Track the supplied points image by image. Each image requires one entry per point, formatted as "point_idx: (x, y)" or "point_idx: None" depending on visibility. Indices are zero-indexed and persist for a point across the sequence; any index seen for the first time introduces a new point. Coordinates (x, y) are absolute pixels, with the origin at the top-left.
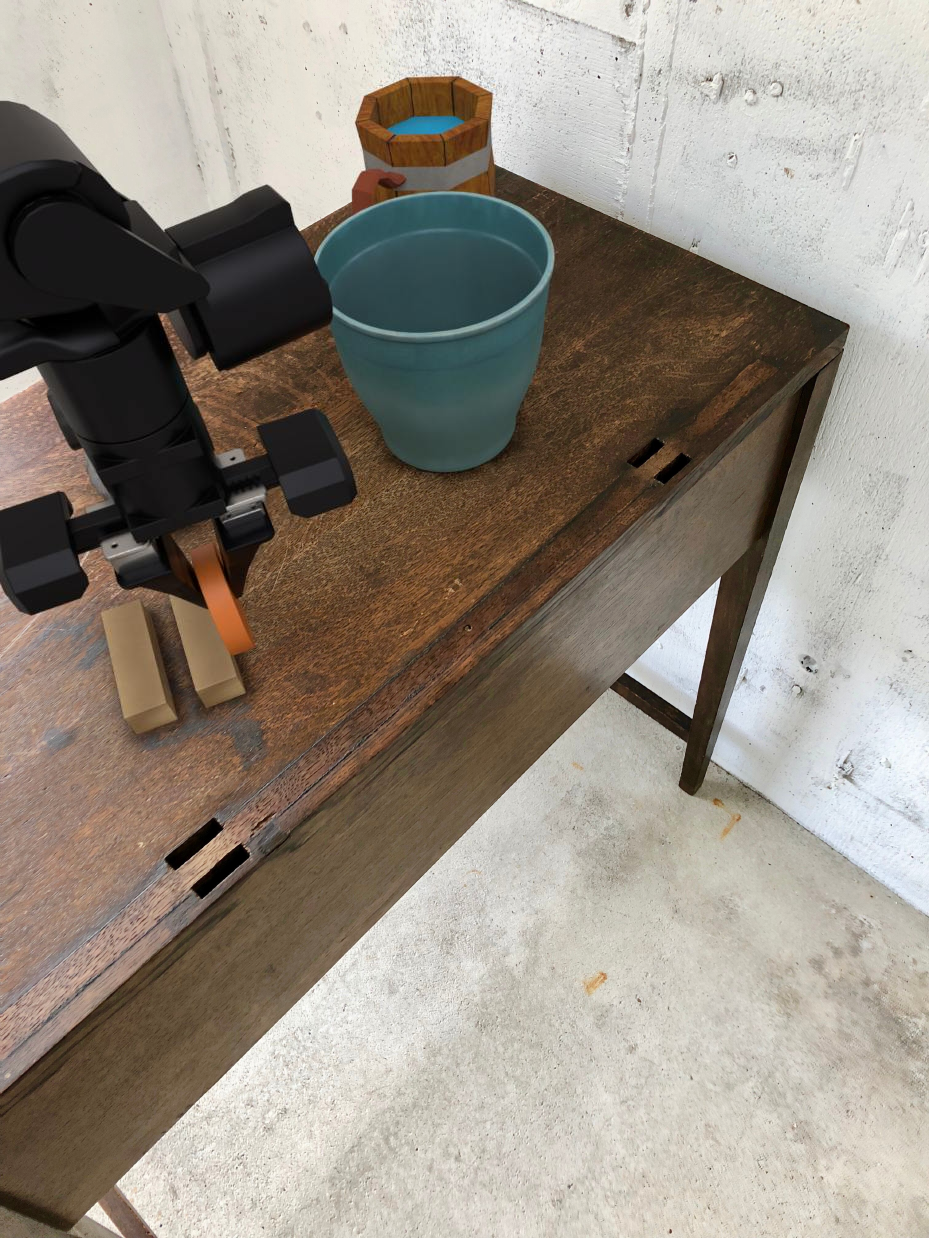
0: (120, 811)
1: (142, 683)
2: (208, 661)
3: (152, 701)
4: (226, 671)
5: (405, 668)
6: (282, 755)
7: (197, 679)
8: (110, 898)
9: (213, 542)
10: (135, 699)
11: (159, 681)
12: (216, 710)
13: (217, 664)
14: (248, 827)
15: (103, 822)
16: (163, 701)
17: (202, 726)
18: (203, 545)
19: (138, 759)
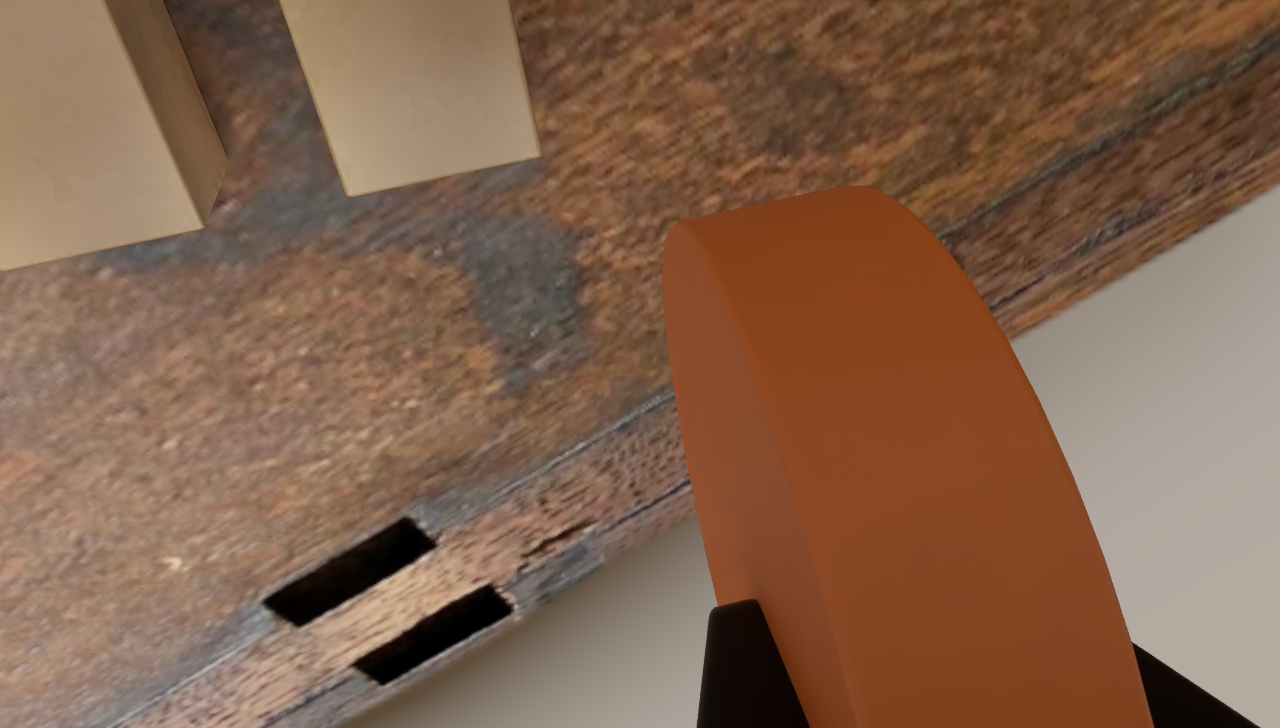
0: (68, 469)
1: (45, 98)
2: (401, 44)
3: (131, 216)
4: (494, 124)
5: (1135, 125)
6: (639, 367)
7: (349, 136)
8: (112, 675)
9: (1131, 644)
10: (33, 188)
11: (143, 106)
12: None
13: (449, 73)
14: (512, 549)
15: (13, 494)
16: (189, 222)
17: (342, 211)
18: (1017, 670)
19: (86, 301)
